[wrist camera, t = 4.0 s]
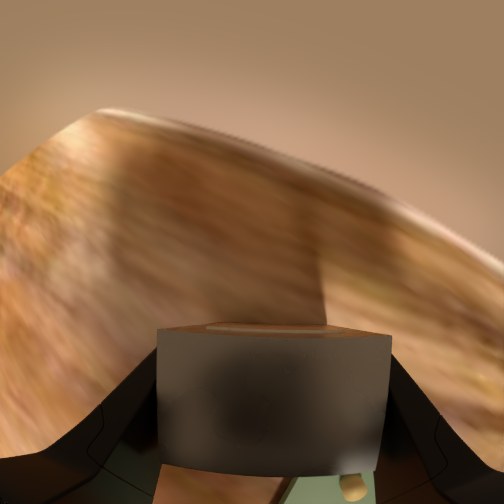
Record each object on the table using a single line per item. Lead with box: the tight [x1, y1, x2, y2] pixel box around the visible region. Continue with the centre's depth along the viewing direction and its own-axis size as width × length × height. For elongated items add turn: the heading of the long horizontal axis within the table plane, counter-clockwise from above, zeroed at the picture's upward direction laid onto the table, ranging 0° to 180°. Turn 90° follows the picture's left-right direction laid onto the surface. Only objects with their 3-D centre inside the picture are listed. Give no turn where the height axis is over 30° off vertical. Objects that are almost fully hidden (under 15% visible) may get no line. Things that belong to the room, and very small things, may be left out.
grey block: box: [157, 322, 392, 477], centre depth 11 cm, size 4×6×10 cm
